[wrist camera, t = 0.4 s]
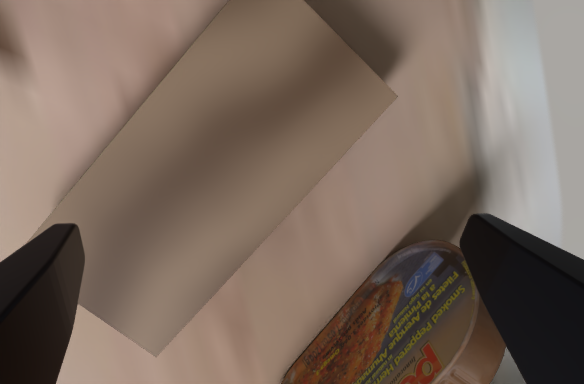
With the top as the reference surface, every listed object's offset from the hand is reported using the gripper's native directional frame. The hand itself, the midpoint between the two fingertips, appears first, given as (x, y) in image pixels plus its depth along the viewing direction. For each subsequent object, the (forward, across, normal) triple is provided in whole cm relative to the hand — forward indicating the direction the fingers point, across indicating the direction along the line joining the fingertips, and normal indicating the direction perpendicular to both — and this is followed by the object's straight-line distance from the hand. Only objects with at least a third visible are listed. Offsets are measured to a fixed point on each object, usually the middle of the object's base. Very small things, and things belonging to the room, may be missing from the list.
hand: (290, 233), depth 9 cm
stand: (+12, +2, +5) cm, 13 cm away
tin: (+8, -7, +14) cm, 17 cm away
